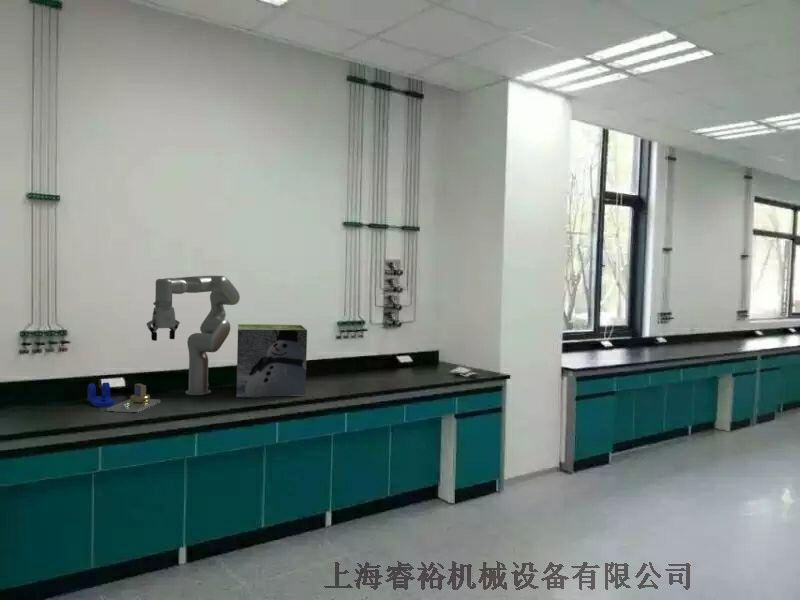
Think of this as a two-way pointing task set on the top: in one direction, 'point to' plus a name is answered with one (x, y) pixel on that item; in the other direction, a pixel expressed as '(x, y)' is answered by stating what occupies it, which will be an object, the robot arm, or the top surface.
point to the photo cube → (271, 360)
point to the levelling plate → (132, 406)
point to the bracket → (100, 400)
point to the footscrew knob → (140, 394)
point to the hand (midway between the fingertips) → (163, 339)
